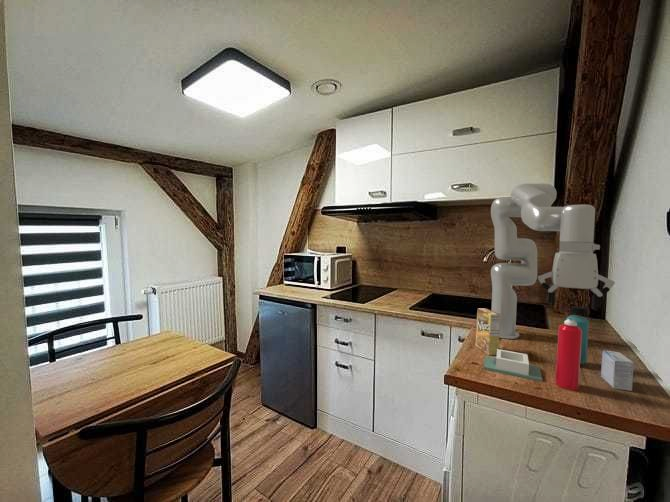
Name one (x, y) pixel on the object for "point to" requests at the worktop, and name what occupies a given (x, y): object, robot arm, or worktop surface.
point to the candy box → (487, 331)
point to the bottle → (568, 355)
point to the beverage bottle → (584, 326)
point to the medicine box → (617, 370)
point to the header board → (512, 365)
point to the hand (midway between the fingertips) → (572, 307)
